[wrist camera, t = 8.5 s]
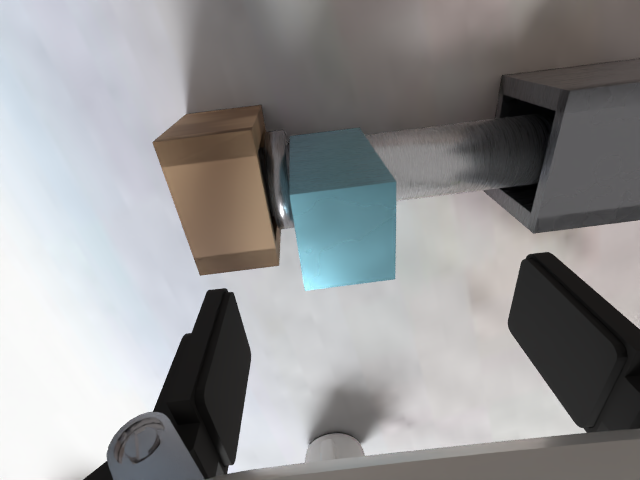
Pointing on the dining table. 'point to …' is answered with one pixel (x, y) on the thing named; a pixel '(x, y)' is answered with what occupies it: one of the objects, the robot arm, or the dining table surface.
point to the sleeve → (578, 145)
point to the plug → (385, 185)
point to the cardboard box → (221, 188)
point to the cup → (333, 448)
